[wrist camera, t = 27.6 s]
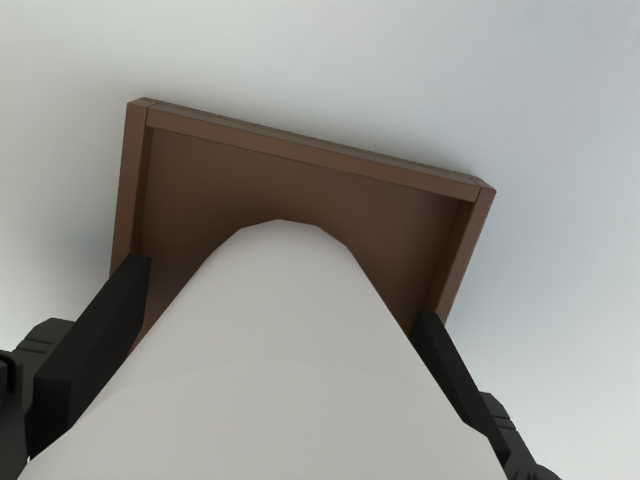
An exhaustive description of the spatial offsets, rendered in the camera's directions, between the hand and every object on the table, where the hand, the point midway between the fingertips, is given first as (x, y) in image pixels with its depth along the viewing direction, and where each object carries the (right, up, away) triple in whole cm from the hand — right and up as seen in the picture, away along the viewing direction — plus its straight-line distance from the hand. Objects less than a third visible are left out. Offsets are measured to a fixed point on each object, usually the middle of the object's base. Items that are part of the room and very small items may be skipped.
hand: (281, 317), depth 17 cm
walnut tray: (0, +1, +2) cm, 2 cm away
